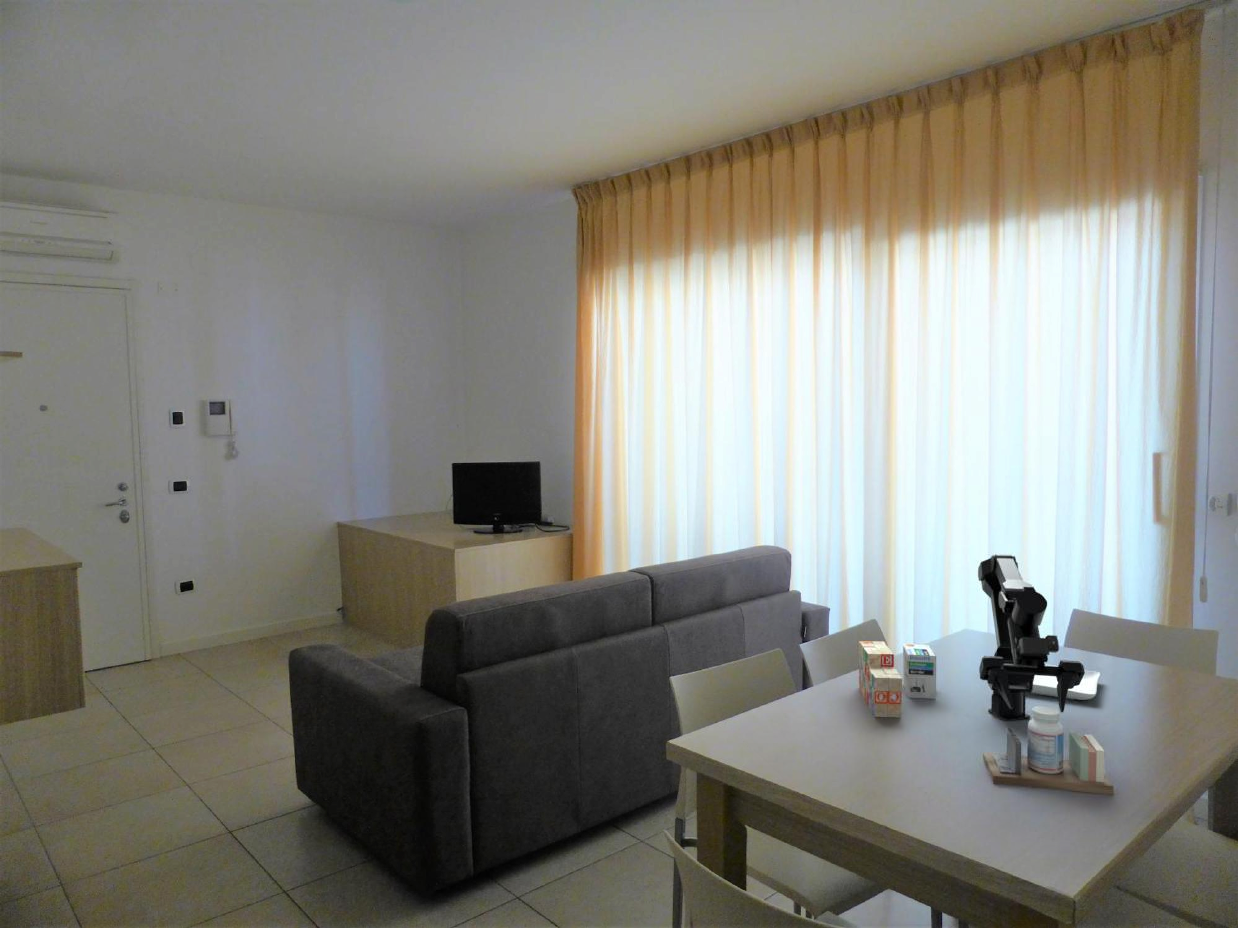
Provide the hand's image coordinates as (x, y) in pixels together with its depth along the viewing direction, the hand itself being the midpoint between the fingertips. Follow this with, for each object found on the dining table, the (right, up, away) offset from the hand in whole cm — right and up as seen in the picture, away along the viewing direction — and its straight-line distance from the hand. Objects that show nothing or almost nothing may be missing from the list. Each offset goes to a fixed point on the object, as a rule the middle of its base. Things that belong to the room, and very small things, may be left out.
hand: (1036, 709), depth 166 cm
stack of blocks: (-20, -9, +36) cm, 42 cm away
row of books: (+5, -9, -9) cm, 13 cm away
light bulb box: (-8, -9, +43) cm, 45 cm away
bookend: (-8, -9, -5) cm, 13 cm away
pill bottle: (-2, -9, -7) cm, 12 cm away
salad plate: (+26, -8, +46) cm, 54 cm away
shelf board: (-2, -11, -7) cm, 13 cm away
